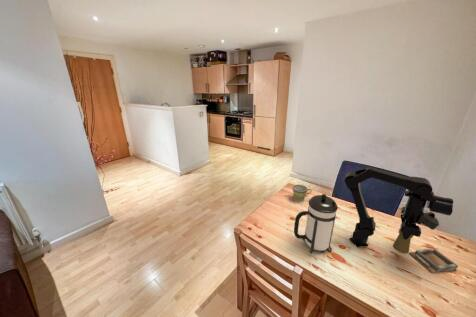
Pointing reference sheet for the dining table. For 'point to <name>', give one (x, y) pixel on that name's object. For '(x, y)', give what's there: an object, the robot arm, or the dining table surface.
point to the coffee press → (318, 222)
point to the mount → (433, 260)
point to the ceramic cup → (300, 192)
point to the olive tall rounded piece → (402, 243)
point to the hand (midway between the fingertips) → (404, 235)
